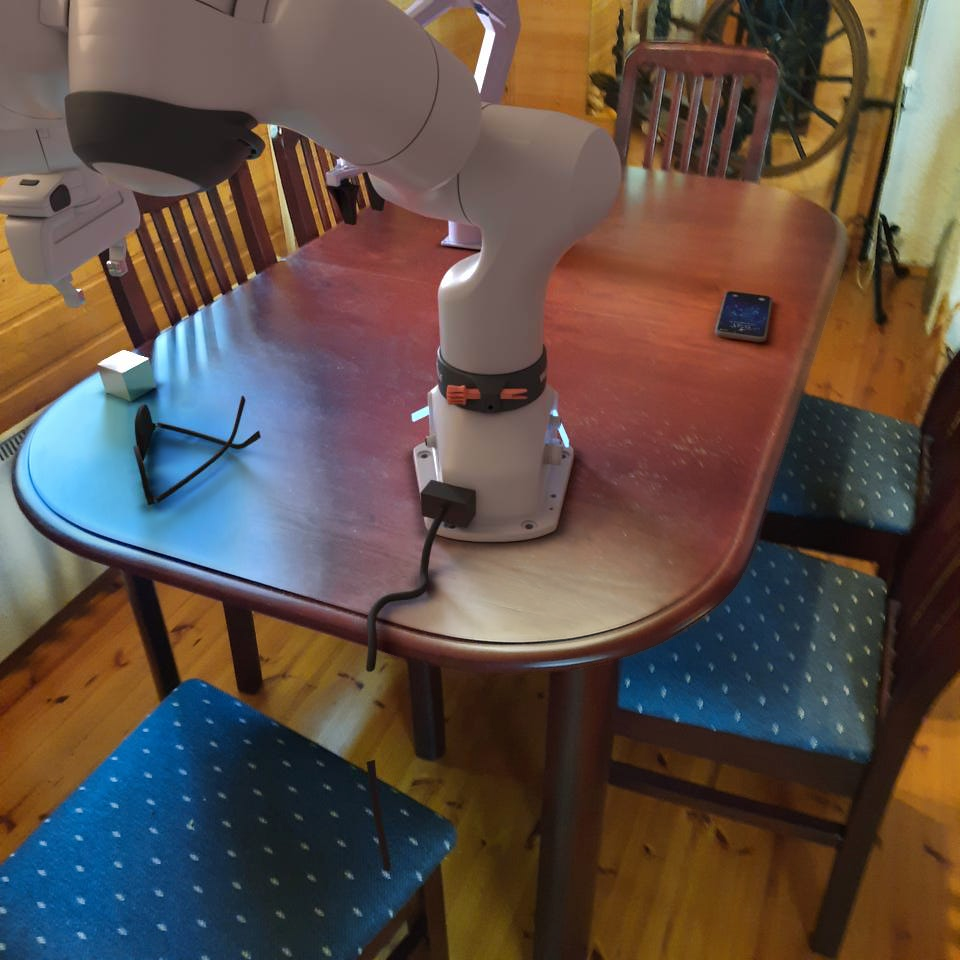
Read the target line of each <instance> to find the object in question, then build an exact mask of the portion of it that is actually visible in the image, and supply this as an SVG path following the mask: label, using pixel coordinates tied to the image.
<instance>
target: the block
mask: <svg viewBox="0 0 960 960" xmlns="http://www.w3.org/2000/svg"><path fill="white" fill-rule="evenodd" d="M150 361H151V360H150V359H149V357H145V356H142V355H138V354H137V353H133V352H131V351H127V350H125V349H124V350H121V351H119V352H117V353H115V354H113V355H111V356H109V357H108V358H105V359H104V360H101V361H100V362H98V363H96V367H97V370H98V373H99V376H100V379H101V382H102V385H103V388H104V391H105V393H107V394H109V395H112V396H115V397H117V398H119V399H122V400H125V401H128V402H133V401H135V400H137V399H138V398H140V397H142V396H144V395H145V394H147V393H148V392H150V391H152V390H155V388H158V387H157V383H156V380H155V376H154V373H153V369H152V365H151V362H150Z"/></svg>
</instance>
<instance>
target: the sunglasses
mask: <svg viewBox="0 0 960 960" xmlns="http://www.w3.org/2000/svg"><path fill="white" fill-rule="evenodd" d="M245 404H246V398H245V396H244V395H241V396H240V401H239V405H238V408H237V409H238V410H237V413H236V417H235V421H234V425H233V429H232V432H231V435H230V437H229V439H228V440H227V441H226V440H223V439H220V438H217V437H214V436H211V435H208V434H204V433H201V432H198V431H195V430H192V429H188V428H184V427H180V426H176V425H172V424H169V423H164V422H159V421H157V422H153V418H152V414H151V411H150V408H149V406H148V404H146V403H142V404H140V405H139V406H138V409H137V411H136V413H135V418H134V436H135V444H136V445H133V447H132V448H133V452H134V455H135V460H136V463H137V467H138V471H139V475H140V479H141V485H142V489H143V493H144V497H145V500H146V503H147V505H148V506H151V505H154V504H155V501H156V503H157V504H160V503H162V501H164V500H165V499H167V498H168V497H170V496H171V495H172V494H174V493H175V492H177V491H178V490H179V489H181V488H182V487H184V486H185V485H187V484H188V483H189V482H191V481H192V480H193V479H194V478H196V477H197V476H198V475H200V474H202V473H203V472H204V471H205V470H206V469H208V467H210V466H211V465H212V464H213V463H215V462H216V461H217V460H218V459H220V457H222V455H223V454H224V453H225V452H226V451H228V449H229V448H231V449H233V450H242V449H246V448H247V447H249V446H250V445H252V444H254V443H255V442H256V441H258V440H260V439H261V438H262V435H261V432H260V430H256V431H255V432H254V433H253V434H252V435H250V436H249V437H248V438H247V439H246V440H245V441H244V442H241V443H233V442H234V441H235V438H236V435H237V434H238V429H239V426H240V423H241V419H242V415H243V412H244V409H245ZM157 428H160V429H164V430H168V431H172V432H175V433H179V434H183V435H188V436H191V437H195V438H199V439H202V440H205V441H209V442H211V443H215V444H218V445H221V446H223V447H221V449H220V450H219V451H217V452H216V453H215V454H214V455H213V456H212V457H211V458H209V459H208V460H207V461H206V462H204V463H203V464H202V465H200V466H199V467H198V468H196V469H195V470H193V471H192V472H191V473H189V474H188V475H187V476H186V477H184V478H183V479H180V481H178V482H177V483H176V484H174V485H172V486H171V487H169V488H168V489H166V490H165V491H163V492H162V493H161V494H160V495H158V496H157V497H154V495H152V491H151V487H150V484H149V479H148V474H147V470H146V467H145V463H144V461H145V459H146V456H147V453H148V450H149V448H150V445H151V442H152V438H153V435H154V432H155V430H157Z"/></svg>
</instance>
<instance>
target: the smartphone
mask: <svg viewBox="0 0 960 960" xmlns="http://www.w3.org/2000/svg"><path fill="white" fill-rule="evenodd" d="M773 302H774V301H773V298H772V297H771V296H769V295H763V294H756V293H749V292H743V291H734V290H729V291H726V292H725V293H724V295H723V299H722V301H721V306H720V310H719V312H718V317H717V319H716V322H715V328H714V334H715V335H716V336H717V337H718V338H719V337H720V338H725V339H732V340H739V341H747V342H754V343H764V342H765V341H767V338H768V333H769V328H770V318H771V313H772V307H773Z"/></svg>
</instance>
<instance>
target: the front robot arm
mask: <svg viewBox="0 0 960 960" xmlns="http://www.w3.org/2000/svg"><path fill="white" fill-rule="evenodd" d="M474 76H475V75H474V74H473V72H472V71H471V70H470V69H469V67H468V66H467V65H466V64H465V63H464V62H463V61H461V59H460V58H458V57H457V56H456V55H455V54H453V52H451V51H450V49H448V48H447V47H446V46H444V45H443V44H442V43H441V42H440V41H439V40H438V39H437V38H436V37H434V36H433V35H432V34H431V33H430V32H428V31H427V30H426V29H425V28H423V27H421V26H420V25H419V24H418V23H417V22H416V21H414V20H413V19H412V18H411V17H409V16H408V15H407V14H406V13H405V11H403V10H402V9H401V8H399V7H398V6H397V5H395V4H394V3H392V2H391V1H390V0H0V179H4V178H6V180H5V181H4V183H3V184H2V185H1V187H0V215H7V216H6V218H5V219H4V224H3V225H4V227H3V228H4V234H5V239H6V243H7V246H8V248H9V252H10V254H11V257H12V260H13V263H14V265H15V268H16V270H17V271H16V272H17V273H18V274H19V276H20V278H22V279H23V280H24V281H25V282H26V283H28V284H31V285H41V286H52V287H54V289H56V290H57V292H58V293H60V294H61V295H62V298H63V301H64V303H65V306H66V307H68V308H69V309H78V308H80V307H81V306H83V305H84V304H85V303H86V302H87V301H86V298H85V294H84V291H83V289H78V288H76V287H75V286H74V285H73V283H72V282H73V281H74V278H73V274H72V273H73V272H74V271H76V270H77V269H79V268H80V267H82V266H84V264H86V263H88V262H90V261H91V260H92V259H94V258H95V257H97V256H98V255H99V254H101V253H103V252H104V251H106V250H107V249H109V250H108V251H109V252H108V253H109V260H108V261H107V262H106V267H107V268H108V273H109V275H110V276H112V277H122V276H124V275H125V274H126V273H128V272H129V269H128V266H127V265H128V264H127V262H126V257H127V249H128V247H127V246H128V242H127V239H126V237H127V236H128V235H129V234H131V233H133V232H134V231H135V230H137V229H138V228H139V227H140V225H141V213H140V209H139V207H138V203H137V200H136V197H135V194H134V192H135V193H139V194H143V195H147V196H153V197H154V196H155V197H177V196H184V195H188V194H201V193H205V192H207V191H209V190H211V189H213V188H215V187H217V186H218V185H220V184H222V183H224V182H225V181H226V180H228V179H230V178H232V177H233V176H234V174H235V173H236V172H237V170H239V168H240V167H242V165H243V164H244V162H245V161H253V160H257V159H258V158H260V157H261V156H262V154H263V153H264V151H265V150H266V147H267V146H266V145H267V144H266V142H265V141H264V139H263V138H262V137H261V136H259V134H257V133H256V132H255V131H252V130H254V129H255V128H257V127H258V126H259V125H266V126H267V125H269V126H277V127H281V128H284V129H285V128H286V129H288V130H291V131H293V132H295V133H298V134H299V135H302V136H303V137H305V138H307V139H309V140H310V141H311V142H313V143H315V144H316V145H317V146H319V147H320V148H322V149H324V150H326V151H327V152H328V153H330V154H332V155H333V156H336V157H338V159H340V158H341V159H343V160H345V161H347V162H349V163H351V164H353V165H355V166H357V167H358V168H360V169H362V170H364V171H366V172H368V175H369V178H370V180H371V183H372V185H373V187H374V189H375V190H376V192H377V193H378V194H379V195H380V196H381V197H382V198H384V199H385V201H388V202H390V203H392V204H393V205H396V206H398V207H400V208H402V209H405V210H407V211H410V212H412V213H415V214H417V215H419V216H422V217H426V218H430V219H435V220H441V221H446V222H448V221H451V222H456V223H461V224H466V225H471V226H477V227H479V228H480V230H481V234H482V247H481V250H480V251H479V252H477V253H473V254H472V255H469V256H467V257H465V258H463V259H461V260H459V261H458V262H455V264H453V265H452V266H451V267H450V268H449V269H448V270H447V271H446V273H445V274H444V275H443V277H442V278H441V279H442V280H441V281H440V284H439V287H438V290H437V307H438V327H439V342H440V343H439V344H440V345H439V346H438V348H437V354H436V356H437V358H436V363H435V364H436V376H437V384H436V385H435V387H434V386H433V388H432V389H431V390H430V391H428V392H427V406H424V407H423V408H421V409H419V410H417V411H415V412H413V413H411V421H412V422H416V421H418V420H420V419H423V418H424V417H426V416H428V424H429V435H426V436H425V438H424V442H422V443H419V444H417V445H416V446H415V447H414V448H413V454H412V455H413V457H412V458H413V464H414V470H415V475H416V476H415V477H416V480H417V487H418V492H419V498H420V499H419V500H420V506H421V516H422V517H423V522H424V526H425V529H426V530H427V531H428V532H427V534H426V537H425V540H424V543H423V547H422V553H421V559H420V566H419V579H420V585H419V586H418V587H417V588H414V589H412V590H409V591H407V590H406V591H400V592H399V591H398V592H392V593H388V594H385V595H383V596H381V597H380V598H379V599H378V600H377V601H376V602H375V603H374V604H373V605H372V606H371V608H370V610H369V612H368V615H367V618H366V631H367V655H366V656H367V657H366V665H365V670H366V672H368V673H372V672H373V671H375V669H376V664H377V657H378V656H377V655H378V636H377V633H378V632H377V617H378V614H379V613H380V612H381V611H382V610H383V608H384V607H385V606H387V605H388V604H390V603H394V602H401V601H409V600H414V599H418V598H419V597H421V596H423V595H424V594H425V593H426V592H427V591H428V589H429V586H430V579H429V566H430V559H431V552H432V548H433V544H434V541H435V538H436V535H437V536H440V537H443V538H448V539H452V540H457V541H466V542H477V543H478V542H480V543H500V542H501V543H502V542H503V543H506V542H518V541H527V540H531V539H536V538H539V537H543V536H546V535H548V534H550V533H552V532H554V531H556V530H557V527H558V525H559V520H560V518H561V517H560V516H561V512H562V508H563V504H564V500H565V497H566V492H567V488H568V483H569V480H570V476H571V472H572V469H573V468H572V467H573V464H574V459H575V450H574V447H573V446H571V445H570V439H569V438H568V435H567V433H566V430H565V428H564V426H563V424H562V416H559V392H557V391H556V390H555V389H554V388H553V387H552V386H551V385H550V384H549V383H548V382H547V379H548V367H549V361H548V356H547V355H548V354H547V353H548V351H547V347H546V345H545V344H544V330H545V329H544V327H545V314H546V303H547V295H548V288H549V286H550V281H551V279H552V276H553V273H554V271H555V269H556V267H557V265H558V264H559V262H560V261H561V259H562V258H563V256H564V255H565V254H566V253H567V252H568V251H569V250H570V249H571V248H572V247H573V246H574V245H576V244H577V243H579V242H581V240H584V239H585V238H587V237H588V236H590V235H591V234H593V233H595V232H596V231H597V229H599V228H600V227H601V226H602V225H603V224H604V223H605V222H606V220H607V219H608V218H609V216H610V215H611V213H612V211H613V210H614V208H615V206H616V203H617V201H618V199H619V195H620V191H621V186H622V179H623V178H622V177H623V176H622V172H623V171H622V163H621V161H622V160H621V157H620V154H619V150H618V148H617V145H616V143H615V140H614V139H613V137H612V135H611V134H610V132H609V131H608V130H607V129H605V128H603V127H601V126H599V125H597V124H594V123H592V122H589V121H587V120H584V119H581V118H579V117H576V116H572V115H570V114H567V113H564V112H561V111H555V110H547V109H540V108H531V107H530V108H529V107H523V106H514V105H506V104H500V105H499V104H493V103H487V102H482V101H481V97H480V92H479V88H478V85H477V82H476V80H475V78H474ZM558 433H559V434H560V437H561V439H562V441H561V439H560V438H558ZM366 770H367V772H366V773H367V781H368V788H369V795H370V802H371V809H372V814H373V821H374V825H375V831H376V836H377V842H378V848H379V852H380V858H381V862H382V868H383V867H384V868H383V871H384V870H386V871H389V870H390V869H391V870H392V865H391V859H390V854H389V849H388V848H389V847H388V842H387V838H386V831H385V827H384V820H383V815H382V814H383V813H382V808H381V802H380V801H381V800H380V794H379V785H378V778H377V777H378V776H377V768H376V759H372V760H367V761H366Z"/></svg>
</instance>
